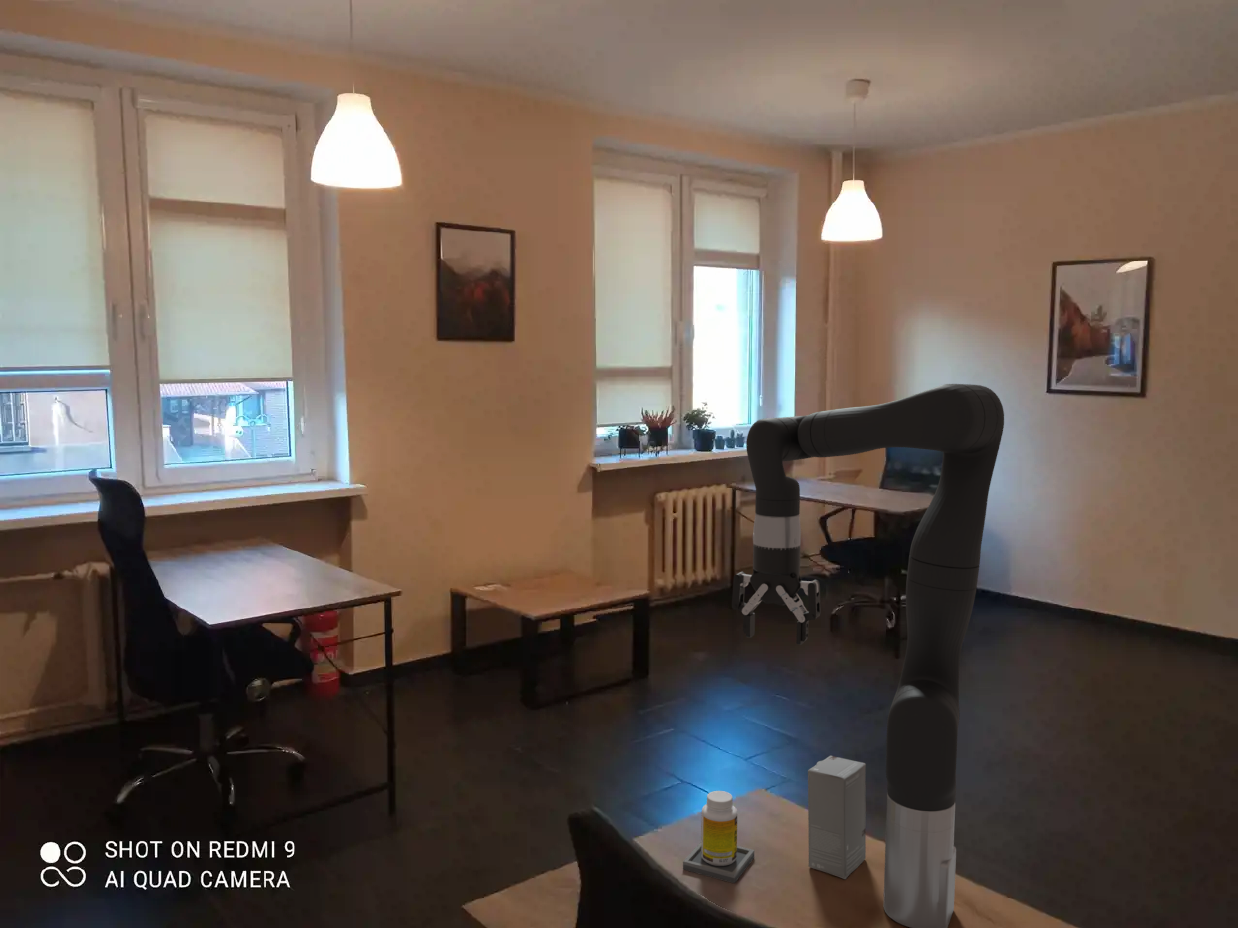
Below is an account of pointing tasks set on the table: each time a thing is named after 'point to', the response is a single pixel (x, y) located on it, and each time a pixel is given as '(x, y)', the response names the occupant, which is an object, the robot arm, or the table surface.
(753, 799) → the table surface
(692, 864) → the charcoal tray
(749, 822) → the table surface
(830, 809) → the skincare box
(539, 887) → the table surface
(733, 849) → the supplement bottle
